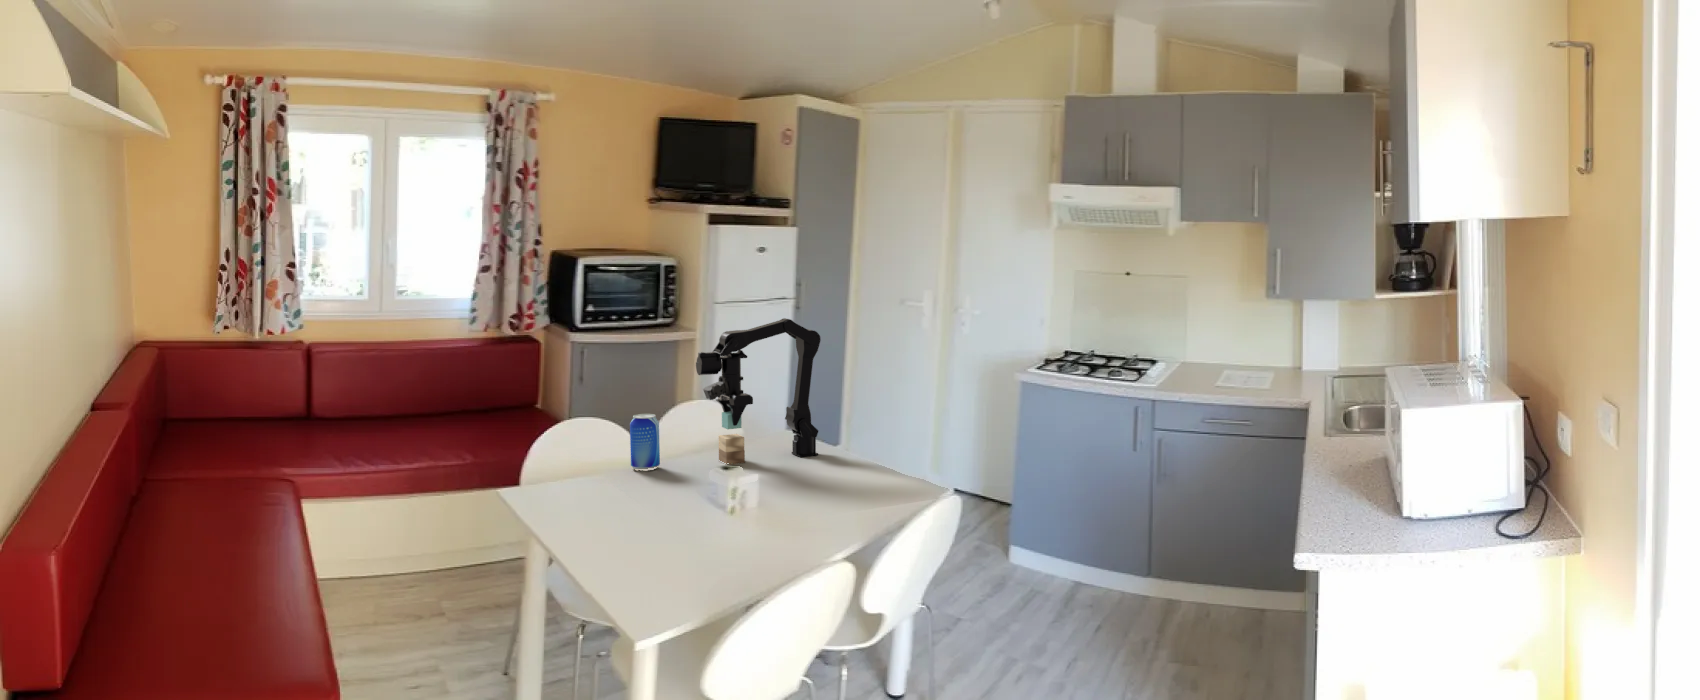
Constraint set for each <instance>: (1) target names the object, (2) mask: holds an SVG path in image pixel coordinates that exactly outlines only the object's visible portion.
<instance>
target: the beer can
mask: <svg viewBox="0 0 1700 700" xmlns="http://www.w3.org/2000/svg"><path fill="white" fill-rule="evenodd" d="M656 416H657V415H656V414H654V413H639V414H633V416H632V419H631V421H630V422H629V435H630V436H629V439H630V441H629V442H630V443H629V444H630V466H631V467H632V470H634V469H648V468H654V467H657V466H658V467H659V466H660V464H661V461H660V460H661V458H660V457H661V456H660V453H661V452H660V451H661V449H660V422H659V420H658V419H657V417H656Z"/></svg>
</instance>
